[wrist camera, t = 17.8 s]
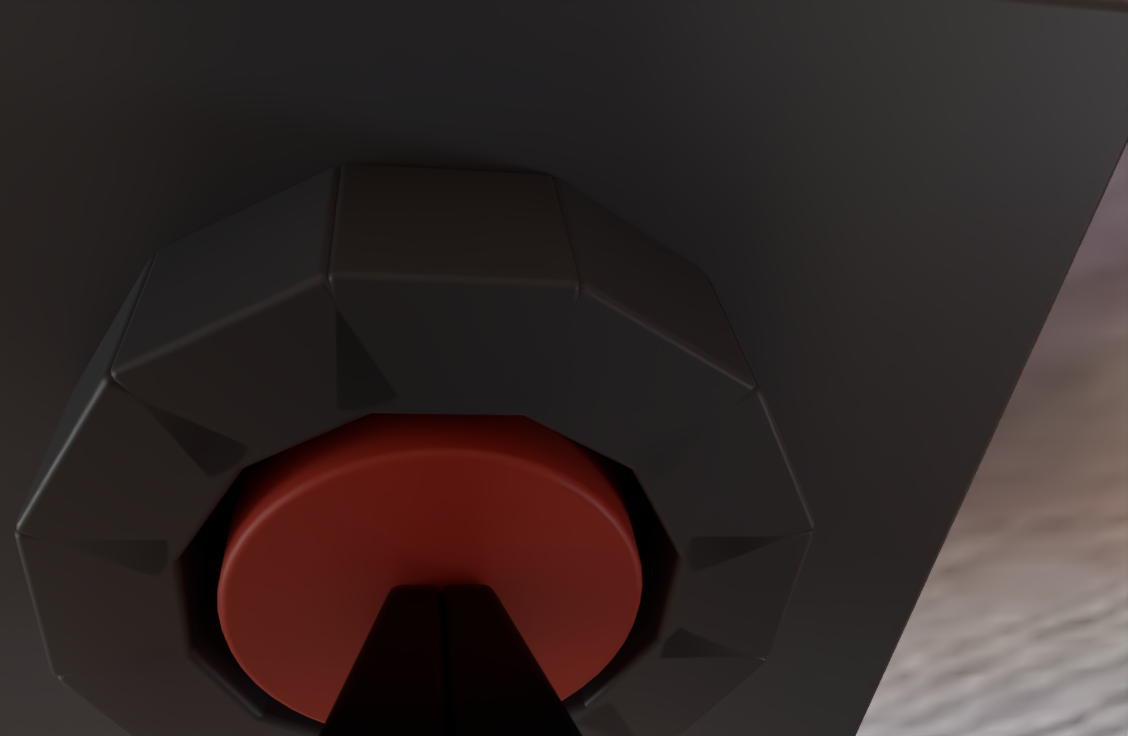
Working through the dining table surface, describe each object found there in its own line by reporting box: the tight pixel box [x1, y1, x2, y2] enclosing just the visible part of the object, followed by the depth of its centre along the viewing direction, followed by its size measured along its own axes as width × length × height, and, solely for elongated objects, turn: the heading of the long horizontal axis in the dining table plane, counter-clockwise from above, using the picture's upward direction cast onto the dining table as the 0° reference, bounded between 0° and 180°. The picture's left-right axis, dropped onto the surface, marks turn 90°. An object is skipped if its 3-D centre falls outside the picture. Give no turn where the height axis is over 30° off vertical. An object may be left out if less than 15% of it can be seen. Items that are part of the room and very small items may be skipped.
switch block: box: [0, 0, 1128, 736], centre depth 10 cm, size 12×10×4 cm
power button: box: [217, 413, 643, 723], centre depth 9 cm, size 4×4×2 cm
